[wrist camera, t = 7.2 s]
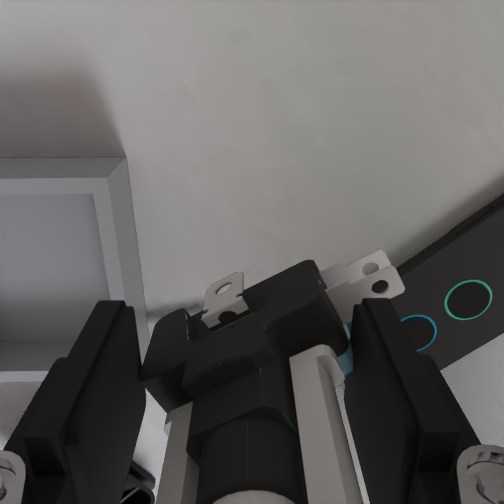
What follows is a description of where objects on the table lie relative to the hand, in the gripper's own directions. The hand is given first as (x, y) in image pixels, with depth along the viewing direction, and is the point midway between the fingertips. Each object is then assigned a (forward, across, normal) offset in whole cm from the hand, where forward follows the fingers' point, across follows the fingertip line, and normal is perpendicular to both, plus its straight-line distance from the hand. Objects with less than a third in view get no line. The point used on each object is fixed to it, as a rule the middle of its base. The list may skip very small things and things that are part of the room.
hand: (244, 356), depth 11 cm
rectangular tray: (+17, +12, +6) cm, 22 cm away
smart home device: (+18, -14, +8) cm, 24 cm away
